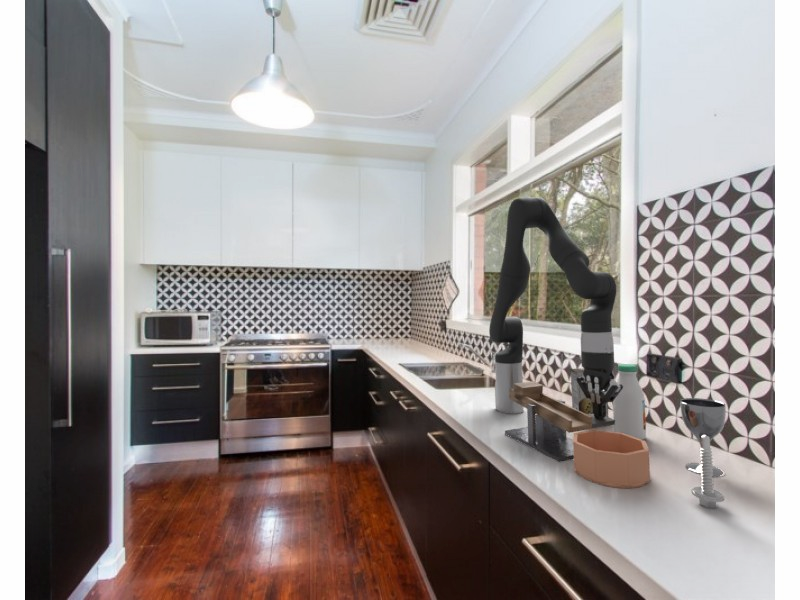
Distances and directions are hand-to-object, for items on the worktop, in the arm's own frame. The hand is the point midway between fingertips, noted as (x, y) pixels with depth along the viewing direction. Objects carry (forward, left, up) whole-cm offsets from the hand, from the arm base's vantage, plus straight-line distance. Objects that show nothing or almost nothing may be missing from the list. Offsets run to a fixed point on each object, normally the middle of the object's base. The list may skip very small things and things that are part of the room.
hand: (599, 417), depth 99 cm
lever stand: (-10, -8, -9) cm, 15 cm away
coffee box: (-21, +18, -9) cm, 29 cm away
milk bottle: (-5, +16, -9) cm, 18 cm away
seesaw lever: (-10, -5, 0) cm, 11 cm away
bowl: (+10, -8, -9) cm, 16 cm away
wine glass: (+17, +12, -9) cm, 23 cm away
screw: (+27, -3, -9) cm, 29 cm away
